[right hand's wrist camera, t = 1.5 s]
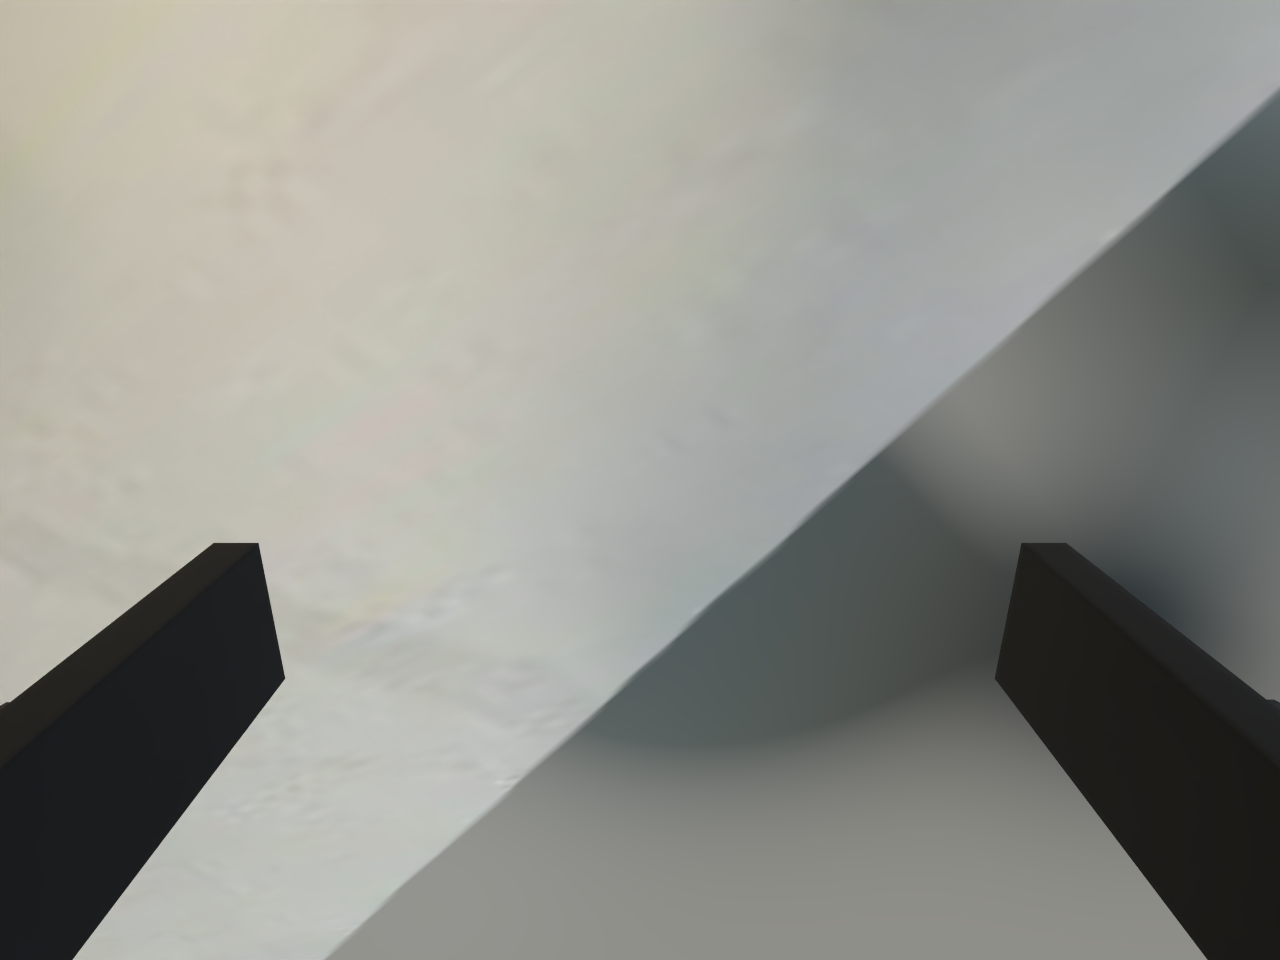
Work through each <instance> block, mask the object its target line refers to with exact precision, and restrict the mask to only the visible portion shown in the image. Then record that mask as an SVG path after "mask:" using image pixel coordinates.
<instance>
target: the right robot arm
mask: <svg viewBox="0 0 1280 960" xmlns="http://www.w3.org/2000/svg"><path fill="white" fill-rule="evenodd" d="M284 679H285V675H284V670H283V665H282V660H281V655H280V650H279V645H278V640H277V635H276V630H275V625H274V620H273V615H272V610H271V605H270V599H269V594H268V589H267V584H266V579H265V574H264V569H263V564H262V559H261V554H260V549H259V544H258V543H213V544H212V545H211V546H209V547H208V548H207V549H206V550H204V551H203V552H202V553H200V554H199V555H198V556H197V557H195V558H194V559H193V560H192V561H190V562H189V563H188V564H186V565H185V566H184V567H183V568H181V569H180V570H179V571H177V572H176V573H175V574H174V575H172V576H171V577H170V578H169V579H167V580H166V581H165V582H163V583H162V584H161V585H160V586H158V587H157V588H156V589H154V590H153V591H152V592H151V593H149V594H148V595H147V596H146V597H144V598H143V599H142V600H140V601H139V602H138V603H137V604H135V605H134V606H133V607H131V608H130V609H129V610H128V611H126V612H125V613H124V614H123V615H121V616H120V617H119V618H117V619H116V620H115V621H114V622H112V623H111V624H110V625H108V626H107V627H106V628H105V629H103V630H102V631H101V632H100V633H98V634H97V635H96V636H94V637H93V638H92V639H91V640H89V641H88V642H87V643H85V644H84V645H83V646H82V647H80V648H79V649H78V650H77V651H75V652H74V653H73V654H71V655H70V656H69V657H68V658H66V659H65V660H64V661H62V662H61V663H60V664H59V665H57V666H56V667H55V668H54V669H52V670H51V671H50V672H48V673H47V674H46V675H45V676H43V677H42V678H41V679H39V680H38V681H37V682H36V683H34V684H33V685H32V686H31V687H29V688H28V689H27V690H25V691H24V692H23V693H22V694H20V695H19V696H18V697H16V698H15V699H14V700H13V701H11V702H6V703H5V704H3V705H1V706H0V960H73V958H74V957H75V956H76V954H77V953H78V952H79V950H80V949H81V948H82V946H83V945H84V944H85V942H86V941H87V940H88V938H89V937H90V936H91V934H92V933H93V932H94V930H95V929H96V928H97V926H98V925H99V924H100V923H101V921H102V920H103V919H104V917H105V916H106V915H107V913H108V912H109V911H110V909H111V908H112V907H113V905H114V904H115V903H116V901H117V900H118V899H119V897H120V896H121V895H122V893H123V892H124V891H125V889H126V888H127V887H128V886H129V884H130V883H131V882H132V880H133V879H134V878H135V876H136V875H137V874H138V872H139V871H140V870H141V868H142V867H143V866H144V864H145V863H146V862H147V860H148V859H149V858H150V856H151V855H152V854H153V852H154V851H155V850H156V849H157V847H158V846H159V845H160V843H161V842H162V841H163V839H164V838H165V837H166V835H167V834H168V833H169V831H170V830H171V829H172V827H173V826H174V825H175V823H176V822H177V821H178V819H179V818H180V817H181V815H182V814H183V813H184V812H185V810H186V809H187V808H188V806H189V805H190V804H191V802H192V801H193V800H194V798H195V797H196V796H197V794H198V793H199V792H200V790H201V789H202V788H203V786H204V785H205V784H206V782H207V781H208V780H209V778H210V777H211V776H212V775H213V773H214V772H215V771H216V769H217V768H218V767H219V765H220V764H221V763H222V761H223V760H224V759H225V757H226V756H227V755H228V753H229V752H230V751H231V749H232V748H233V747H234V745H235V744H236V743H237V741H238V740H239V739H240V738H241V736H242V735H243V734H244V732H245V731H246V730H247V728H248V727H249V726H250V724H251V723H252V722H253V720H254V719H255V718H256V716H257V715H258V714H259V712H260V711H261V710H262V708H263V707H264V706H265V704H266V703H267V702H268V701H269V699H270V698H271V697H272V695H273V694H274V693H275V691H276V690H277V689H278V687H279V686H280V685H281V683H282V682H283V681H284ZM995 679H996V681H997V682H998V683H999V685H1000V686H1001V687H1002V689H1003V690H1004V691H1005V693H1006V694H1007V695H1008V696H1009V698H1010V699H1011V701H1012V702H1013V703H1014V704H1015V706H1016V707H1017V708H1018V710H1019V711H1020V712H1021V714H1022V715H1023V716H1024V718H1025V719H1026V720H1027V722H1028V723H1029V724H1030V726H1031V727H1032V728H1033V730H1034V731H1035V732H1036V734H1037V735H1038V736H1039V738H1040V739H1041V740H1042V741H1043V743H1044V744H1045V745H1046V747H1047V748H1048V749H1049V751H1050V752H1051V753H1052V755H1053V756H1054V757H1055V759H1056V760H1057V761H1058V763H1059V764H1060V765H1061V767H1062V768H1063V769H1064V771H1065V772H1066V773H1067V775H1068V776H1069V777H1070V778H1071V780H1072V781H1073V782H1074V784H1075V785H1076V786H1077V788H1078V789H1079V790H1080V792H1081V793H1082V794H1083V796H1084V797H1085V798H1086V800H1087V801H1088V802H1089V804H1090V805H1091V806H1092V807H1093V809H1094V810H1095V812H1096V813H1097V814H1098V815H1099V817H1100V818H1101V819H1102V821H1103V822H1104V823H1105V825H1106V826H1107V827H1108V829H1109V830H1110V831H1111V833H1112V834H1113V835H1114V837H1115V838H1116V839H1117V841H1118V842H1119V843H1120V845H1121V846H1122V847H1123V849H1124V850H1125V851H1126V852H1127V854H1128V855H1129V856H1130V858H1131V859H1132V860H1133V862H1134V863H1135V864H1136V866H1137V867H1138V868H1139V870H1140V871H1141V872H1142V874H1143V875H1144V876H1145V877H1146V879H1147V880H1148V882H1149V883H1150V884H1151V885H1152V887H1153V888H1154V889H1155V891H1156V892H1157V893H1158V895H1159V896H1160V897H1161V899H1162V900H1163V901H1164V903H1165V904H1166V905H1167V907H1168V908H1169V909H1170V911H1171V912H1172V913H1173V915H1174V916H1175V917H1176V919H1177V920H1178V921H1179V923H1180V924H1181V925H1182V926H1183V928H1184V929H1185V930H1186V932H1187V933H1188V934H1189V936H1190V937H1191V938H1192V940H1193V941H1194V942H1195V944H1196V945H1197V946H1198V948H1199V949H1200V950H1201V952H1202V953H1203V954H1204V956H1205V957H1206V958H1207V960H1280V703H1279V702H1277V701H1276V700H1266V699H1265V698H1264V697H1262V696H1261V695H1260V694H1258V693H1257V692H1256V691H1255V690H1253V689H1252V688H1251V687H1249V686H1248V685H1247V684H1246V683H1244V682H1243V681H1242V680H1241V679H1239V678H1238V677H1237V676H1235V675H1234V674H1233V673H1232V672H1230V671H1229V670H1228V669H1226V668H1225V667H1224V666H1223V665H1221V664H1220V663H1219V662H1217V661H1216V660H1215V659H1214V658H1212V657H1211V656H1210V655H1209V654H1207V653H1206V652H1205V651H1203V650H1202V649H1201V648H1200V647H1198V646H1197V645H1196V644H1194V643H1193V642H1192V641H1191V640H1189V639H1188V638H1187V637H1186V636H1184V635H1183V634H1182V633H1180V632H1179V631H1178V630H1177V629H1175V628H1174V627H1173V626H1171V625H1170V624H1169V623H1168V622H1166V621H1165V620H1164V619H1163V618H1161V617H1160V616H1159V615H1157V614H1156V613H1155V612H1154V611H1152V610H1151V609H1150V608H1149V607H1147V606H1146V605H1145V604H1143V603H1142V602H1141V601H1140V600H1138V599H1137V598H1136V597H1134V596H1133V595H1132V594H1131V593H1129V592H1128V591H1127V590H1125V589H1124V588H1123V587H1122V586H1120V585H1119V584H1118V583H1116V582H1115V581H1114V580H1113V579H1111V578H1110V577H1109V576H1108V575H1106V574H1105V573H1104V572H1103V571H1101V570H1100V569H1099V568H1097V567H1096V566H1095V565H1094V564H1092V563H1091V562H1090V561H1088V560H1087V559H1086V558H1085V557H1083V556H1082V555H1081V554H1079V553H1078V552H1077V551H1076V550H1074V549H1073V548H1072V547H1071V546H1069V545H1068V544H1067V543H1022V544H1021V549H1020V554H1019V559H1018V564H1017V569H1016V574H1015V579H1014V584H1013V589H1012V594H1011V599H1010V605H1009V610H1008V615H1007V620H1006V625H1005V630H1004V635H1003V640H1002V645H1001V650H1000V655H999V660H998V665H997V671H996V675H995Z"/></svg>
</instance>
